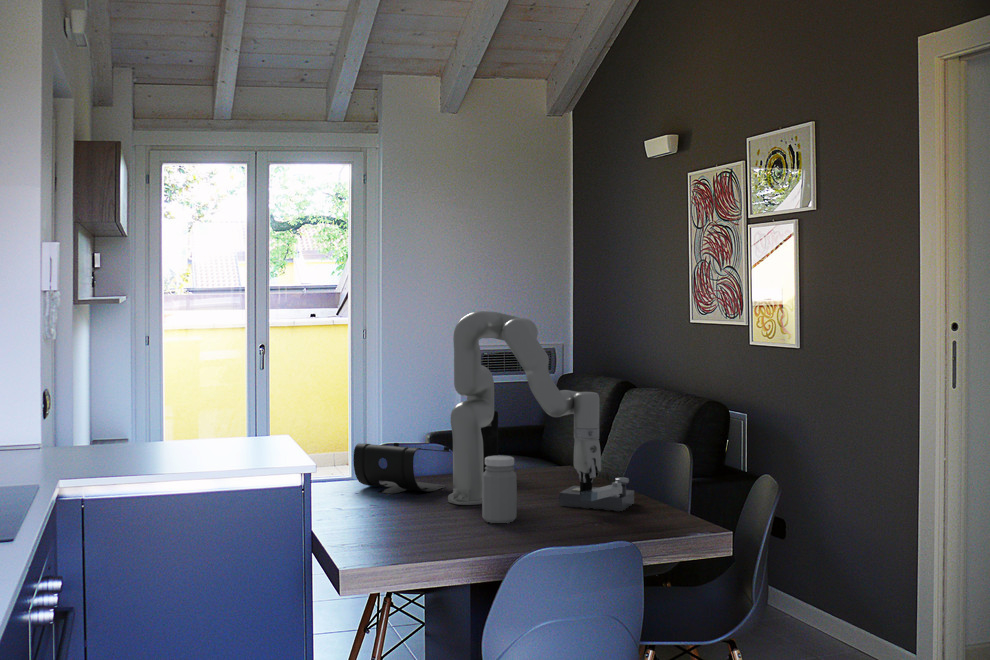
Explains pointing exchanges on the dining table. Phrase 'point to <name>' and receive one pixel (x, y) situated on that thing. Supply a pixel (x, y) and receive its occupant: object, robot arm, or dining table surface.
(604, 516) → the dining table surface
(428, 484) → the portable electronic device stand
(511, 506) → the jar
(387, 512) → the dining table surface
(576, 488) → the chassis
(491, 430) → the voltmeter
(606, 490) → the swing arm
